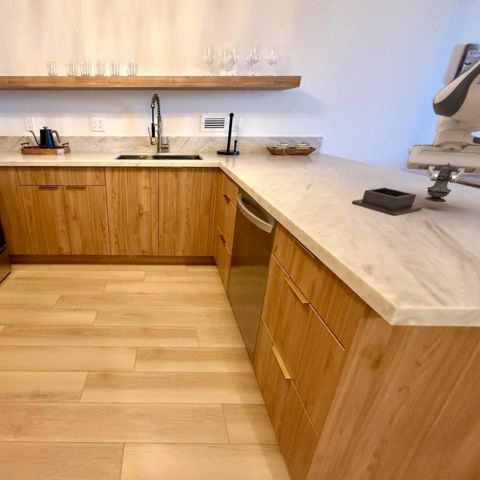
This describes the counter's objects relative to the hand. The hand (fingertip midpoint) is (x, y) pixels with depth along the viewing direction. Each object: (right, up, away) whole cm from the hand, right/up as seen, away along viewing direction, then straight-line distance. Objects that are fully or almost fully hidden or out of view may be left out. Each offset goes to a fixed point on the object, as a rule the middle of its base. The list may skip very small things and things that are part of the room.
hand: (443, 180), depth 91 cm
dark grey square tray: (-14, -8, +6) cm, 17 cm away
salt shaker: (+1, -6, +4) cm, 7 cm away
